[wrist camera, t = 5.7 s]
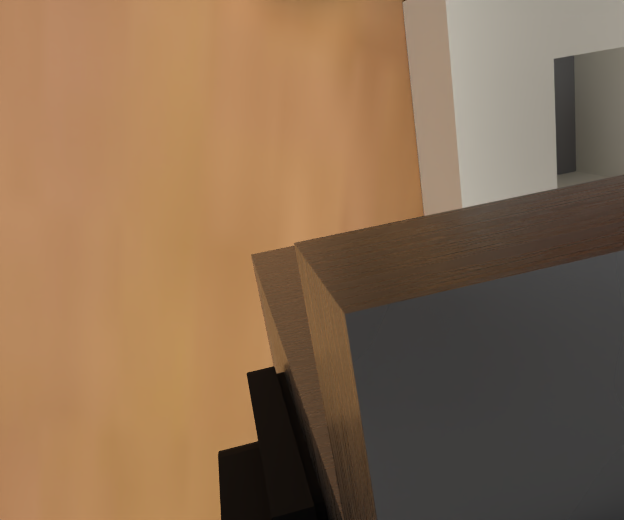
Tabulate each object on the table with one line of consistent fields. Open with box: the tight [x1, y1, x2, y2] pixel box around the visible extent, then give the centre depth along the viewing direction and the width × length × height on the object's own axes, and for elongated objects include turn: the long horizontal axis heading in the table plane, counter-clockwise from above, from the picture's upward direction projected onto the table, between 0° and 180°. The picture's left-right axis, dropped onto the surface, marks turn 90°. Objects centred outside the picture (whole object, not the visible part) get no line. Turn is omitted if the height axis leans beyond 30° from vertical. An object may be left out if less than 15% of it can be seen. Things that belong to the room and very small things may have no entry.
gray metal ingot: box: [251, 175, 624, 520], centre depth 9 cm, size 8×3×11 cm, turn 9°
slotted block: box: [402, 0, 624, 216], centre depth 28 cm, size 14×14×5 cm
